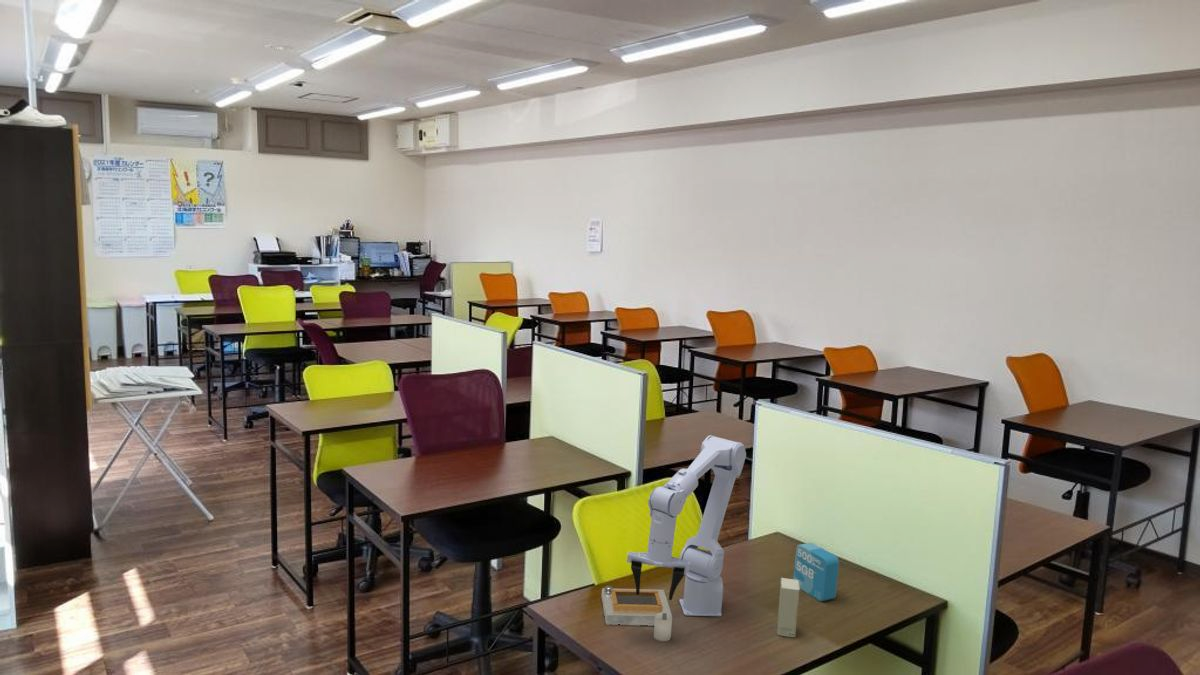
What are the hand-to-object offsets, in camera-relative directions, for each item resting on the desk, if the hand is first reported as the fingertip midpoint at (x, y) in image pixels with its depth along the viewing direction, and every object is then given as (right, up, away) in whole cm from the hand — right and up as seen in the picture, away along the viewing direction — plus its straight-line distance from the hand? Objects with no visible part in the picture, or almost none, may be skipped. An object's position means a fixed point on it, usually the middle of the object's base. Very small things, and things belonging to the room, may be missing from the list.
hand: (654, 595), depth 188 cm
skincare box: (+33, -11, +8) cm, 36 cm away
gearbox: (-4, -8, +13) cm, 16 cm away
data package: (+45, -9, +30) cm, 55 cm away
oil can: (+2, -10, +2) cm, 11 cm away
